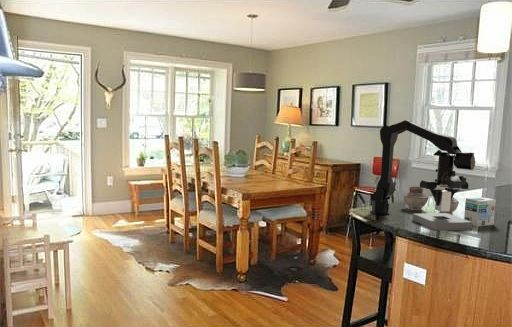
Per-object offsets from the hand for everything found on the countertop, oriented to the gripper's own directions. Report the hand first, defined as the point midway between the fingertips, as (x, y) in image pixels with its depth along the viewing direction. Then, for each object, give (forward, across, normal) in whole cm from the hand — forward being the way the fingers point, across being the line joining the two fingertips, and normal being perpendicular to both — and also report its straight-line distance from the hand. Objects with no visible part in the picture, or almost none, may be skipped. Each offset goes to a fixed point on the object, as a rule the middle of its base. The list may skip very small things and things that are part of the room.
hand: (442, 205), depth 175 cm
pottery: (+8, +11, +24) cm, 27 cm away
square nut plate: (+8, 0, 0) cm, 8 cm away
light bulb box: (+8, +18, 0) cm, 20 cm away
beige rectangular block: (+2, 0, 0) cm, 2 cm away
